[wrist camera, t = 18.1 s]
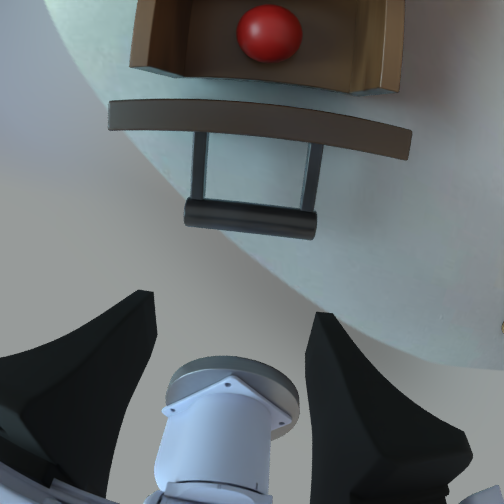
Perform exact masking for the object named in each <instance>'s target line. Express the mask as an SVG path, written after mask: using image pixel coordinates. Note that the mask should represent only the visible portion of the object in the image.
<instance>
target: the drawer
mask: <svg viewBox="0 0 504 504" xmlns="http://www.w3.org/2000/svg"><path fill="white" fill-rule="evenodd" d="M266 4H272V5H278V6H281V7H284V8H286V9H288V10H289V11H291V12H292V13H293V14H294V15H295V16H296V17H297V19H298V20H299V22H300V24H301V27H302V31H303V37H302V42H301V45H300V47H299V49H298V50H297V51H296V53H295V54H294V55H292V56H291V57H290V58H288V59H286V60H284V61H281V62H278V63H262V62H258V61H256V60H254V59H252V58H250V57H249V56H247V55H246V54H245V53H244V52H243V51H242V49H241V48H240V46H239V44H238V42H237V38H236V29H237V25H238V22H239V20H240V19H241V17H242V16H243V15H244V14H245V13H246V12H247V11H249V10H250V9H252V8H254V7H256V6H260V5H266ZM404 20H405V0H138V3H137V9H136V15H135V22H134V29H133V37H132V45H131V54H130V64H129V67H130V68H135V69H139V70H144V71H148V72H152V73H156V74H160V75H164V76H168V77H172V78H206V79H230V80H246V81H258V82H269V83H278V84H286V85H294V86H302V87H308V88H315V89H321V90H327V91H333V92H338V93H344V94H349V95H354V96H358V97H360V96H369V95H378V94H388V93H398V92H399V88H400V78H401V68H402V55H403V41H404ZM108 130H110V131H113V130H114V131H117V130H159V131H191V132H194V134H193V150H192V170H191V195H190V197H188V198H187V200H186V203H185V207H184V223H185V225H186V226H188V227H199V228H208V229H217V230H226V231H235V232H244V233H253V234H262V235H271V236H279V237H288V238H296V239H305V240H313V239H314V237H315V233H316V228H317V212H316V211H315V210H314V205H315V199H316V193H317V187H318V180H319V174H320V167H321V160H322V153H323V146H324V145H328V146H334V147H340V148H345V149H351V150H357V151H362V152H367V153H372V154H377V155H382V156H387V157H391V158H396V159H400V160H405V161H407V160H408V156H409V151H410V145H411V139H412V131H411V130H409V129H405V128H401V127H397V126H393V125H389V124H385V123H380V122H376V121H371V120H367V119H362V118H357V117H352V116H347V115H341V114H336V113H330V112H324V111H318V110H312V109H305V108H298V107H290V106H282V105H273V104H264V103H253V102H241V101H226V100H207V99H133V100H114V101H110V102H109V110H108ZM209 132H210V133H225V134H237V135H249V136H259V137H268V138H277V139H285V140H293V141H301V142H308V143H309V144H308V151H307V159H306V166H305V173H304V180H303V187H302V194H301V201H300V208H292V207H284V206H275V205H267V204H258V203H249V202H239V201H230V200H219V199H209V198H204V197H205V190H206V172H207V156H208V141H209Z"/></svg>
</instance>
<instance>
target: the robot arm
mask: <svg viewBox="0 0 504 504" xmlns="http://www.w3.org/2000/svg"><path fill="white" fill-rule="evenodd" d="M156 338H157V325H156V315H155V304H154V292H150V291H144V290H137V291H135V292H134V293H132V294H131V295H129V296H128V297H126V298H125V299H123V300H122V301H120V302H119V303H118V304H116V305H115V306H113V307H112V308H110V309H109V310H107V311H106V312H104V313H103V314H101V315H100V316H98V317H96V318H95V319H93V320H91V321H90V322H88V323H86V324H85V325H83V326H81V327H80V328H78V329H76V330H75V331H72V332H71V333H69V334H67V335H65V336H63V337H60V338H59V339H56V340H54V341H52V342H49V343H47V344H44V345H41V346H39V347H36V348H34V349H31V350H28V351H24V352H21V353H18V354H14V355H10V356H6V357H1V358H0V504H119V503H116V502H113V501H110V500H107V499H106V492H107V485H108V479H109V473H110V468H111V464H112V459H113V455H114V450H115V446H116V443H117V439H118V435H119V431H120V428H121V425H122V422H123V418H124V415H125V412H126V409H127V407H128V404H129V402H130V399H131V397H132V395H133V393H134V391H135V389H136V386H137V384H138V382H139V380H140V378H141V376H142V374H143V372H144V369H145V367H146V365H147V363H148V361H149V359H150V357H151V353H152V351H153V348H154V344H155V341H156ZM305 378H306V386H307V393H308V401H309V410H310V417H311V425H312V480H311V496H310V504H447V503H446V499H445V496H447V495H449V488H448V483H450V482H451V481H452V480H453V479H454V478H456V477H457V476H458V475H459V474H460V473H462V472H463V471H464V470H465V469H466V468H467V467H468V466H469V464H470V462H471V461H472V459H473V453H472V451H471V448H470V445H469V443H468V440H467V438H466V435H465V433H464V431H461V430H460V429H458V428H455V427H454V426H451V425H450V424H448V423H446V422H444V421H442V420H440V419H439V418H437V417H435V416H434V415H432V414H431V413H429V412H427V411H426V410H424V409H423V408H421V407H420V406H418V405H417V404H415V403H414V402H413V401H412V400H410V399H409V398H408V397H406V396H405V395H404V394H403V393H401V392H400V391H399V390H398V389H397V388H396V387H394V386H393V385H392V384H391V383H390V382H389V381H388V380H387V379H386V378H385V377H384V376H383V375H382V374H381V373H380V372H379V371H378V370H377V369H376V368H375V367H374V366H373V365H372V364H371V362H370V361H369V360H368V359H367V358H366V357H365V356H364V354H363V353H362V352H361V351H360V349H359V348H358V347H357V346H356V344H355V343H354V342H353V340H352V339H351V338H350V337H349V335H348V334H347V332H346V331H345V330H344V328H343V327H342V325H341V324H340V323H339V321H338V320H337V319H336V317H335V316H334V314H333V313H324V312H316V314H315V319H314V322H313V326H312V330H311V334H310V338H309V341H308V346H307V349H306V353H305ZM162 413H163V414H164V415H166V416H167V417H168V421H167V424H166V427H165V430H164V434H163V437H162V441H161V444H160V447H159V451H158V454H157V457H156V461H155V465H154V475H155V479H156V483H157V484H158V487H159V489H160V490H161V491H160V490H157V491H155V492H154V493H153V494H151V495H149V496H148V497H147V498H146V499H145V501H144V503H143V504H272V499H273V496H272V495H268V488H269V486H268V485H269V467H270V444H271V431H272V430H275V429H277V428H280V427H283V426H285V425H288V424H290V423H291V422H292V418H291V417H290V416H289V415H288V414H286V413H285V412H283V411H282V410H281V409H279V408H278V407H277V406H275V405H274V404H272V403H271V402H270V401H268V400H267V399H266V398H264V397H263V396H262V395H260V394H259V393H258V392H257V391H255V390H254V389H253V388H251V387H250V386H249V385H247V384H246V383H245V382H244V381H242V380H241V379H240V378H238V377H237V376H234V375H231V376H228V377H226V378H224V379H222V380H220V381H218V382H216V383H214V384H212V385H210V386H208V387H206V388H204V389H202V390H200V391H198V392H196V393H194V394H192V395H190V396H188V397H185V398H183V399H181V400H179V401H177V402H175V403H173V404H170V405H168V406H166V407H164V408H163V409H162ZM459 504H504V500H503V497H502V494H501V491H500V487H499V485H495V486H493V487H490V488H487V489H485V490H482V491H479V492H477V493H474V494H472V495H471V496H468V497H467V498H466V499H464V500H462V501H461V502H460V503H459Z"/></svg>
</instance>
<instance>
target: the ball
mask: <svg viewBox="0 0 504 504" xmlns="http://www.w3.org/2000/svg"><path fill="white" fill-rule="evenodd" d="M302 37H303V31H302V27H301V24H300V22H299V20H298V19H297V17H296V16H295V15H294V14H293V13H292V12H291V11H289V10H288V9H286V8H284V7H281V6H278V5H272V4H266V5H260V6H256V7H254V8H252V9H250V10H249V11H247V12H246V13H245V14H244V15H243V16H242V17H241V19H240V20H239V22H238V25H237V29H236V38H237V42H238V44H239V46H240V48H241V49H242V51H243V52H244V53H245V54H246V55H247V56H249V57H250V58H252V59H254V60H256V61H258V62H262V63H278V62H281V61H284V60H286V59H288V58H290V57H291V56H292V55H294V54H295V53H296V51H297V50H298V49H299V47H300V45H301V42H302Z"/></svg>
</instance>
